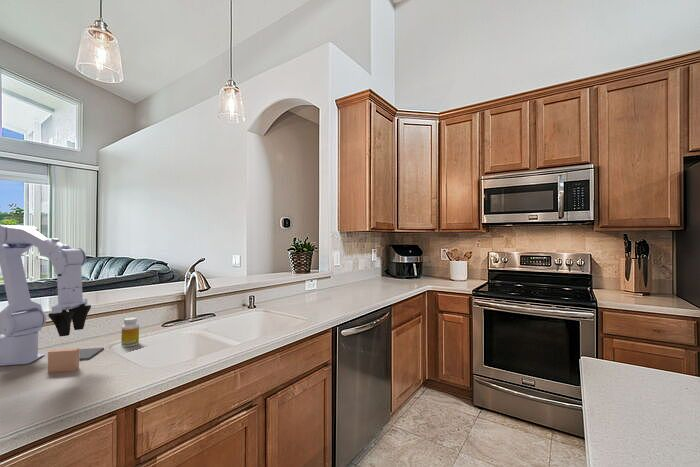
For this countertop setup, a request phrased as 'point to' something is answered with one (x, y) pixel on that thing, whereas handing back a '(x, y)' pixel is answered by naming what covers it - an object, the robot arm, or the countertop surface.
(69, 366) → the light wood block
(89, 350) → the mat
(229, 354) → the countertop surface
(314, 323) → the countertop surface
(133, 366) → the countertop surface
